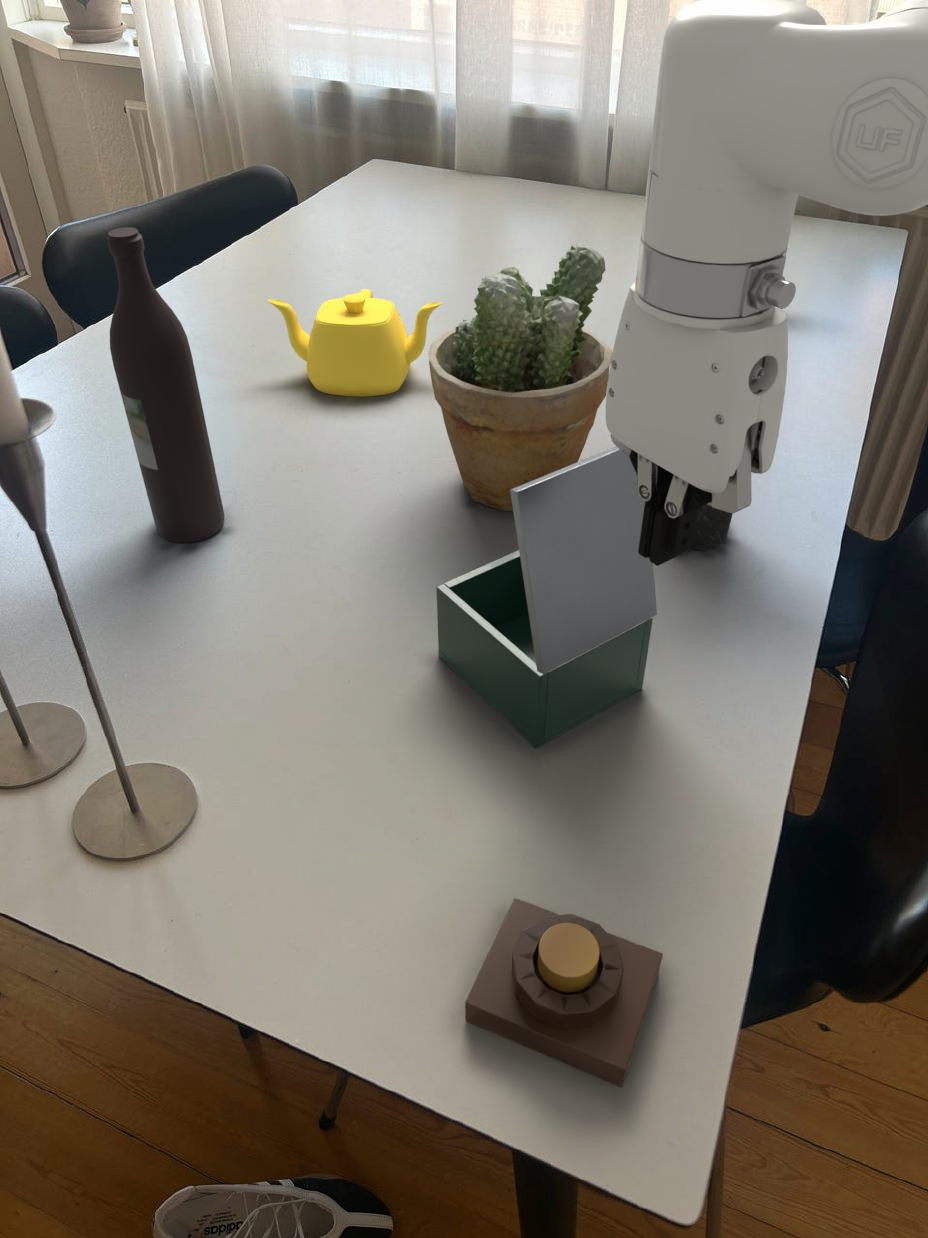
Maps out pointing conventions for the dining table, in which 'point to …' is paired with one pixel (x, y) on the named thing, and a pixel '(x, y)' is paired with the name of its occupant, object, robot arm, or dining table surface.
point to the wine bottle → (162, 400)
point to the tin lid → (582, 556)
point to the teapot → (357, 344)
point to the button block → (565, 995)
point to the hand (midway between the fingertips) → (663, 552)
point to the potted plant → (522, 378)
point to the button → (568, 957)
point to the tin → (529, 655)
